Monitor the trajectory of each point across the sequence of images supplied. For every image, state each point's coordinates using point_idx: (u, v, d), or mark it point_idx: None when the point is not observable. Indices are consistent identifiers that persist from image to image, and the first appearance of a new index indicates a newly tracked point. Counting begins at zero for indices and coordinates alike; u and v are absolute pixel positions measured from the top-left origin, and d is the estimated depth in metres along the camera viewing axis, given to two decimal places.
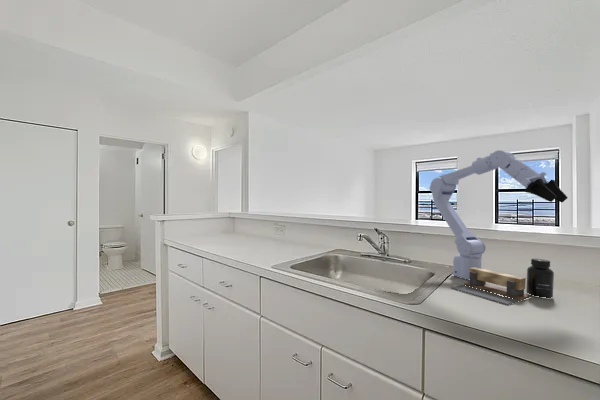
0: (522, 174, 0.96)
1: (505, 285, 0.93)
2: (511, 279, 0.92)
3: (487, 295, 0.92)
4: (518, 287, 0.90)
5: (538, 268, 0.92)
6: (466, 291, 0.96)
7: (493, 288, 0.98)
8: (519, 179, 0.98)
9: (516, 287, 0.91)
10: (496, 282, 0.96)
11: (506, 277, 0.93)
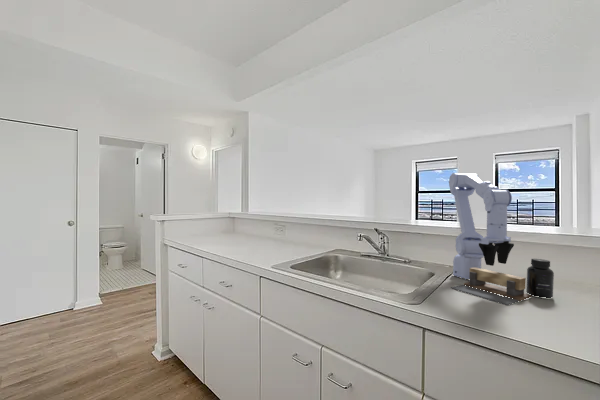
0: (493, 228, 0.96)
1: (505, 285, 0.93)
2: (511, 279, 0.92)
3: (487, 295, 0.92)
4: (518, 287, 0.90)
5: (538, 268, 0.92)
6: (466, 291, 0.96)
7: (493, 288, 0.98)
8: (488, 228, 0.98)
9: (516, 287, 0.91)
10: (496, 282, 0.96)
11: (506, 277, 0.93)
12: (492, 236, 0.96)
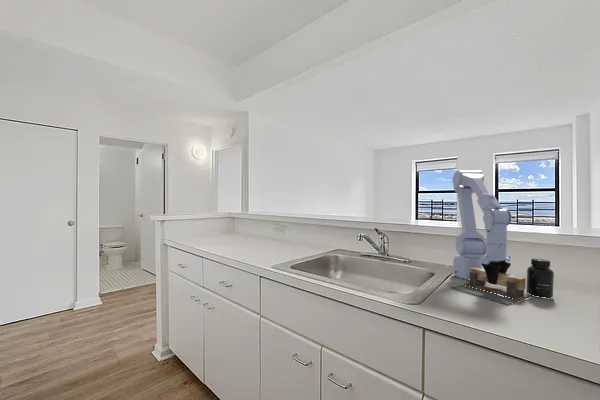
0: (492, 248, 0.96)
1: (505, 285, 0.93)
2: (511, 279, 0.92)
3: (487, 295, 0.92)
4: (518, 287, 0.90)
5: (538, 268, 0.92)
6: (466, 291, 0.96)
7: (493, 288, 0.98)
8: (487, 247, 0.98)
9: (516, 287, 0.91)
10: None
11: (506, 277, 0.93)
12: (492, 255, 0.96)
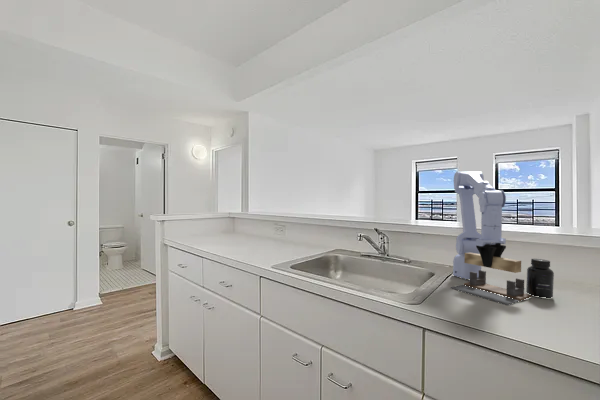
0: (487, 230, 0.94)
1: (501, 268, 0.92)
2: (507, 262, 0.90)
3: (487, 295, 0.92)
4: (514, 270, 0.88)
5: (538, 268, 0.92)
6: (466, 291, 0.96)
7: (493, 288, 0.98)
8: (482, 230, 0.96)
9: (512, 270, 0.89)
10: (491, 266, 0.94)
11: (502, 260, 0.91)
12: (487, 238, 0.94)
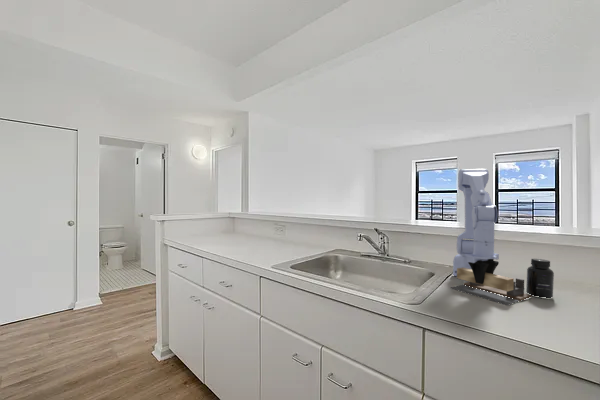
0: (480, 246, 0.93)
1: (493, 286, 0.90)
2: (499, 280, 0.88)
3: (487, 295, 0.92)
4: (506, 288, 0.86)
5: (538, 268, 0.92)
6: (466, 291, 0.96)
7: (493, 288, 0.98)
8: (474, 246, 0.94)
9: (504, 288, 0.87)
10: (483, 283, 0.92)
11: (494, 278, 0.90)
12: (479, 254, 0.93)
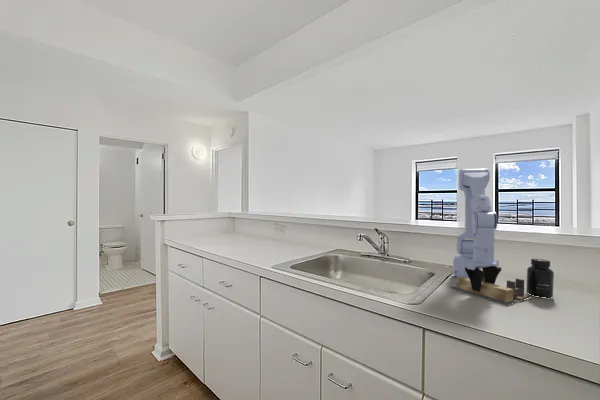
0: (479, 252, 0.93)
1: (492, 296, 0.90)
2: (498, 290, 0.88)
3: None
4: (505, 299, 0.86)
5: (538, 268, 0.92)
6: (466, 291, 0.96)
7: None
8: (474, 252, 0.94)
9: (503, 299, 0.87)
10: (483, 293, 0.92)
11: (493, 288, 0.90)
12: (479, 260, 0.93)
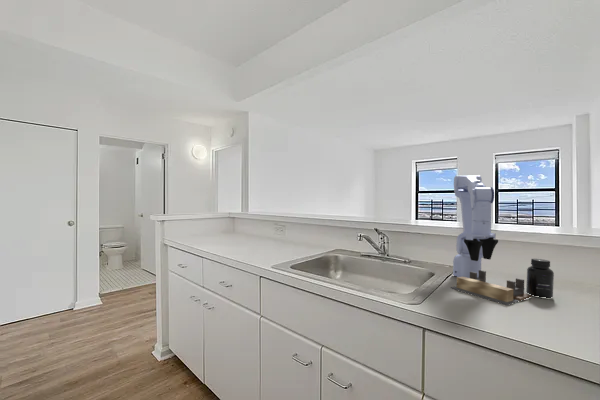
0: (477, 224, 0.99)
1: (492, 296, 0.90)
2: (498, 290, 0.88)
3: None
4: (505, 299, 0.86)
5: (538, 268, 0.92)
6: (466, 291, 0.96)
7: None
8: (473, 225, 1.00)
9: (503, 299, 0.87)
10: (483, 293, 0.92)
11: (493, 288, 0.90)
12: (477, 232, 0.99)
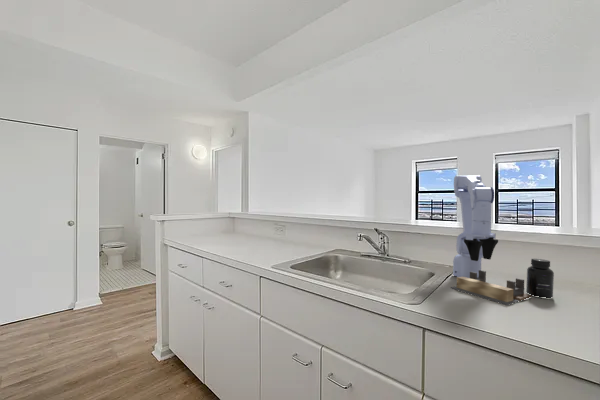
0: (477, 224, 0.99)
1: (492, 296, 0.90)
2: (498, 290, 0.88)
3: None
4: (505, 299, 0.86)
5: (538, 268, 0.92)
6: (466, 291, 0.96)
7: None
8: (473, 225, 1.00)
9: (503, 299, 0.87)
10: (483, 293, 0.92)
11: (493, 288, 0.90)
12: (477, 232, 0.99)
